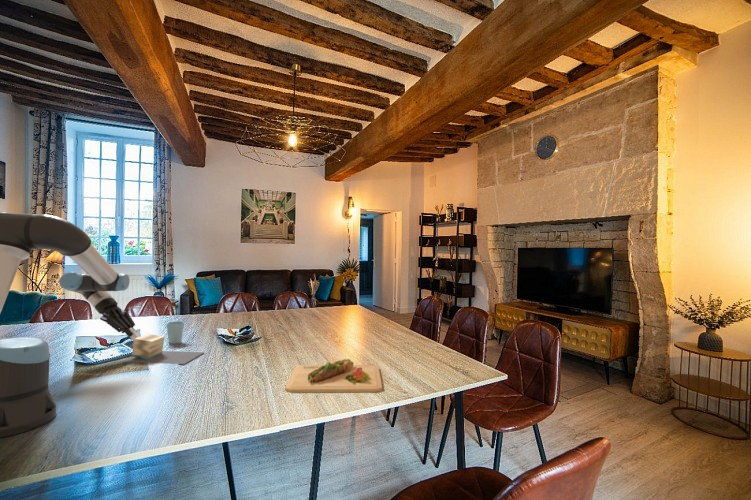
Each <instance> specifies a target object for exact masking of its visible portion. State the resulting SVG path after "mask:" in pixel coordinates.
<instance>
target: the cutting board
mask: <svg viewBox="0 0 751 500" xmlns="http://www.w3.org/2000/svg"><path fill="white" fill-rule="evenodd" d="M382 384H383V383H382V378H381V372H380V367H379V365H374V364H354V362H353V360H352V361H351V359H350V358H343V359H342V360H341V359H340V360H336V361H334V362H332V363H331V362H329V361H326V363H325V364H300V365H297V366H295V368H294V370H293V372H292V373H291V375H290V377H289V379H288V381H287V383H286V385H285V387H284V391H286V392H289V393H376V392H377V391H378V392H380V390H381V391H383V385H382Z"/></svg>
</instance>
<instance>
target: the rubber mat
mask: <svg viewBox="0 0 751 500" xmlns="http://www.w3.org/2000/svg"><path fill="white" fill-rule="evenodd" d="M204 354H205V352H203V351H177V350H176V351H174V350H172V351H171V350H165V351H164V350H162V354H160V355H158V356H156V357H154V358H151V359H149V360H148V359H143V358H137V357H132V356H130V357H128V358H125V359H123V360H121V361H120V362H122V363H141V364H142V363H143V364H144V363H148V364H149V363H150V364H170V365H171V364H176V365H178V366H185V365H187V364H188V363H191V362H192V361H194V360H195V359H197V358H198V357H200V356H202V355H204Z"/></svg>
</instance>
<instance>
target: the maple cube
mask: <svg viewBox="0 0 751 500" xmlns="http://www.w3.org/2000/svg"><path fill="white" fill-rule="evenodd" d="M140 336H141V335H140ZM164 343H165V336H163V335H157V334H151V333H146V334H144V335H142V336H141V337H138V338H135V339H134V341H133V343H132V344H133V345H132V352H131V357H137V358H143V359H148V360H149V359H151V358H154V357H156V356H158V355H160V354H162V351H164V350H163V349H164Z"/></svg>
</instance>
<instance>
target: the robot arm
mask: <svg viewBox="0 0 751 500" xmlns="http://www.w3.org/2000/svg"><path fill="white" fill-rule="evenodd" d="M33 250H48V251H49V250H50V251H56V252H57V253H59V254H60V255H62V256H63V257H64V256H65V257H68V258H70V259H71V260H72V261H73V262H74V263H75V264H76V265H77V266H78V267H80V269H82V270H83V271H84V272H85V273H80V272H76V271H69V272H65V273H63V274H62V275H61V276H60V278H59V280H58V283H59V286H60V287H61V288H62V289H63V290H66V291H69V292H74V293H77V294H79V295H81V296H82V297H84V299H85V300H86V301H88V302H89V304H90V306H92V307H93V308H94V309H95V310H96V312H98V314H100V315H101V317H100V318H99V320H100V321H103V322H105V324H107V325H109V326H110V327H111V328H112V329H114V330H115V331H117V332H118V333H121V334H125V335H126V336H128V337H129V338H130V339H131V340H132V341H133V342H134V339H135V338H138V337H141V335H140V334H139V333H138V332H137V330H136V329H135V328H134V327H135V326H136V324H135V322H134V320H133V318H132V317H131V315H130V314H129V310H128V309H124V310H123V309H121V307H119V306H118V301H116V299H115V298H114V297H112V295H111V294H110V293H109V292H120V291H121V292H123V291H126V290H127V289H128V288H129V286H130V276H129V275H128V274H126V273H118V272H117V271H116V270H115V269H114V268H113V267H112V266H111V264H109V262H108V261H107V260H106V259H105V258H104V257H103V256H102V255H101V254H100V252H99V251H98V250H97V249H96V248H95V247H94V245H92V238H91V237H90V236H89V235H88V233H86V232H85V231H84V230H82V228H80V227H78V226H77V225H76V224H74V223H71V222H70V221H68V220H67V219H64V218H62V217H59V216H56V215H51V214H44V213H43V214H42V213H40V214H37V213H13V212H7V211H5V212H4V211H2V212H0V314H1V312H2V311H3V308H4V305H5V303H6V300H7V297H8V295H9V292H10V290H11V287H12V284H13V282H14V279H15V277H16V274H17V272H18V270H19V267H20V264H21V262H22V261H24V260H27V259H29V258H30V256H31V254H32V252H33ZM50 358H51V353H50V345H49V343H48V342H47V341H46V340H44V339H42V338H37V337H14V338H13V337H11V338H2V339H0V438H5V437H9V436H14V435H18V434H21V433H25V432H27V431H31V430H33V429H36V428H38V427H40V426H43V425H45V424H47V423H48V422H50V421H52V420H53V419H55V417H56V416H57V404H56V402H55V400H54V398H53V396H52V394H51V392H50V389H49V388H50V387H49V384H50V383H49V380H50V379H49V377H50Z"/></svg>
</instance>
